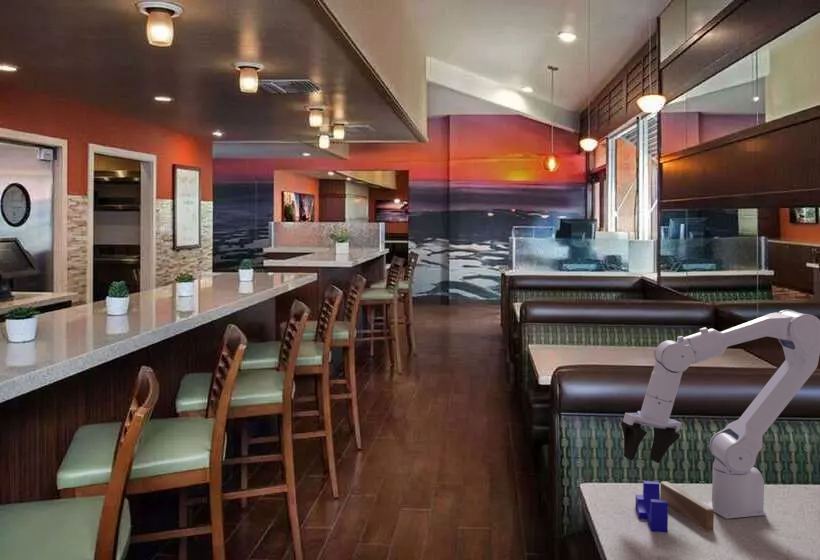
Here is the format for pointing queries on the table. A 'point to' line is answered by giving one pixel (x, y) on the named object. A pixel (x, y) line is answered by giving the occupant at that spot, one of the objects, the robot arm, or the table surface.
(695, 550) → the table surface
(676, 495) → the bar
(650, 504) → the cable clip
